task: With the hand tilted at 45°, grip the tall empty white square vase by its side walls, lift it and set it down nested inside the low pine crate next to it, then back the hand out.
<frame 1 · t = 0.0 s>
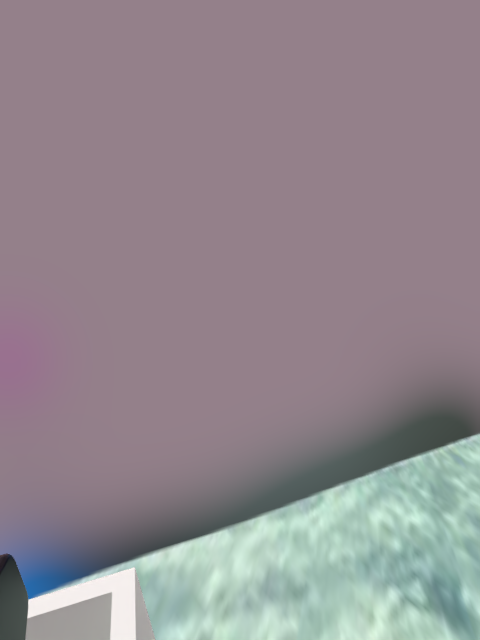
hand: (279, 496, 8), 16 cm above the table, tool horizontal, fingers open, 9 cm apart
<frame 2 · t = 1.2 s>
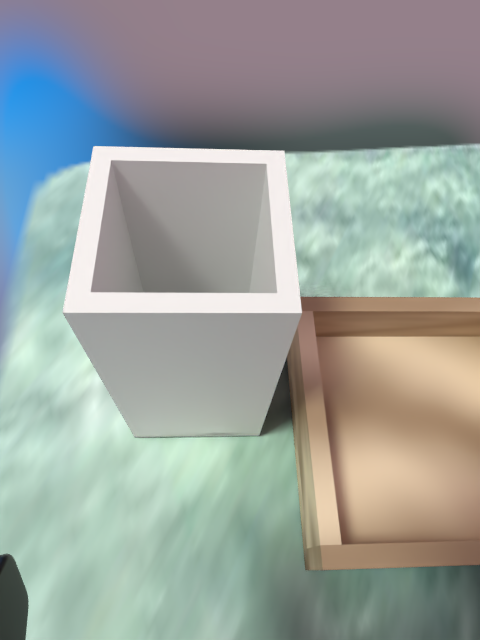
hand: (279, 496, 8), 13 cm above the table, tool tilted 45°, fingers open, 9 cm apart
white square vase: (198, 378, 23), on the table
pine crate: (408, 433, 22), on the table
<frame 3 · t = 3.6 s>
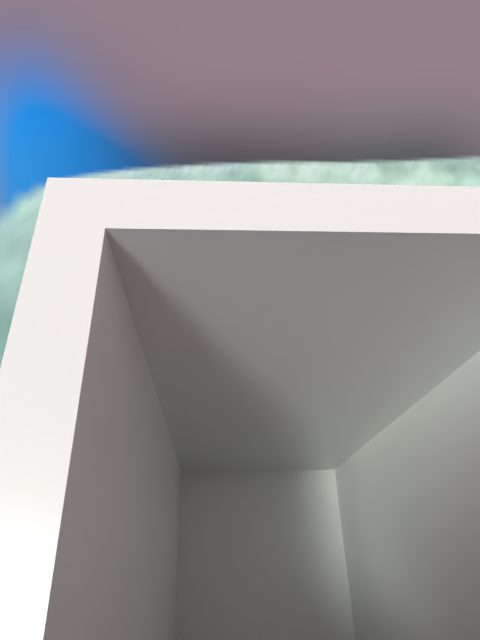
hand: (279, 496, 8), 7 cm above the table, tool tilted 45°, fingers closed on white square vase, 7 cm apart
white square vase: (260, 558, 13), on the table, touching gripper
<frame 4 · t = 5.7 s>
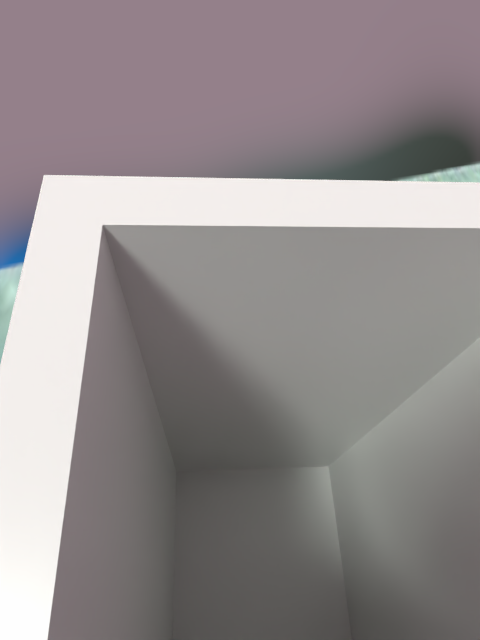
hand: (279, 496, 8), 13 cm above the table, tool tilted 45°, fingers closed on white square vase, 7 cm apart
white square vase: (256, 555, 13), point 7 cm above the table, touching gripper
when the fingers open (9 cm above the table, at t = 7.7 s): white square vase drops 2 cm, resting on pine crate.
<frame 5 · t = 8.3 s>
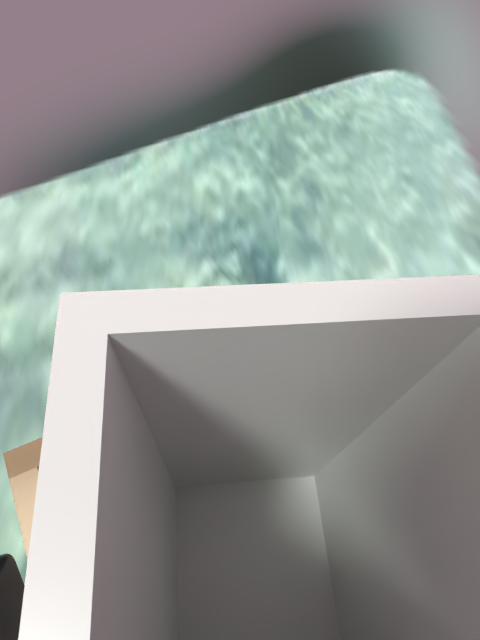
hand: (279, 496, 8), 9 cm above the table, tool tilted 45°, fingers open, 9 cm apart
white square vase: (251, 561, 15), point 1 cm above the table, touching pine crate
pine crate: (253, 559, 16), on the table
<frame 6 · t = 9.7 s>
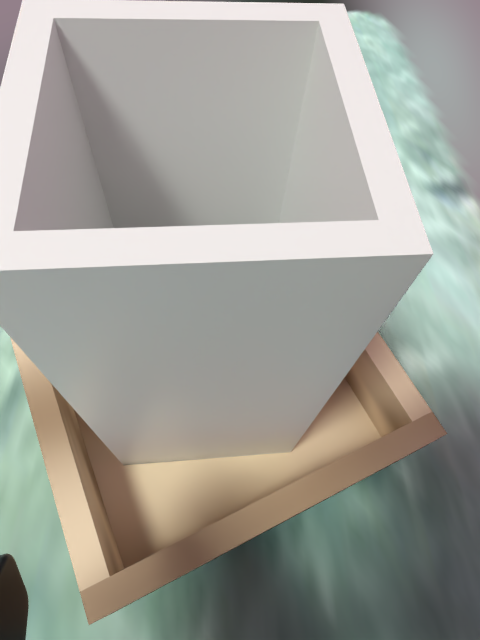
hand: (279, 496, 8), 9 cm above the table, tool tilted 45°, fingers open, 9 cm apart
white square vase: (204, 380, 18), point 1 cm above the table, touching pine crate
pine crate: (207, 385, 18), on the table
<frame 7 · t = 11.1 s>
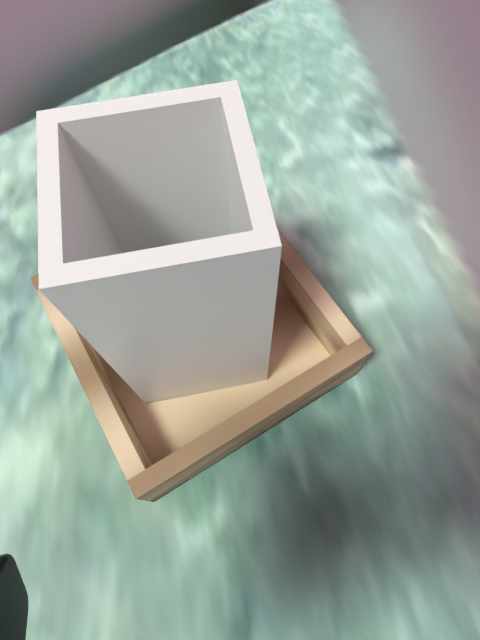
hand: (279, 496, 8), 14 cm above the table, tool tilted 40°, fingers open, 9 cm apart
white square vase: (197, 335, 23), point 1 cm above the table, touching pine crate
pine crate: (201, 340, 24), on the table
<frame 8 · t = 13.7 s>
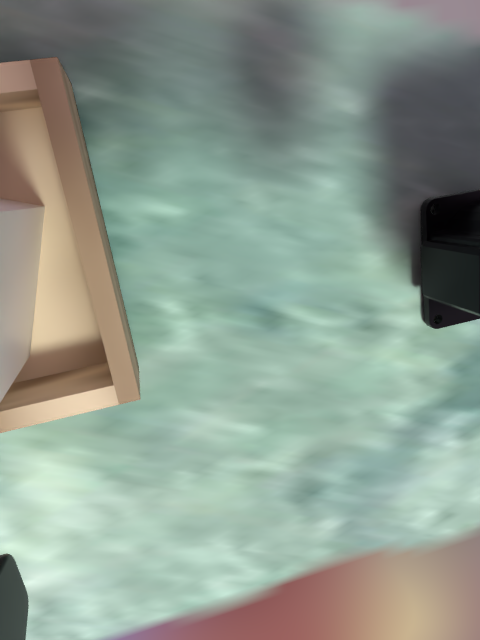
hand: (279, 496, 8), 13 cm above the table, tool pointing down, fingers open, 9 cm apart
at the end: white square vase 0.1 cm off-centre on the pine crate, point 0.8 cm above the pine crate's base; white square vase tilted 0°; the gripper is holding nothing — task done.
